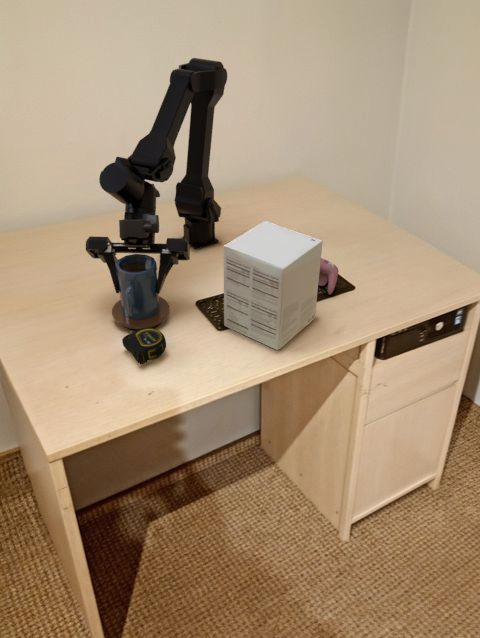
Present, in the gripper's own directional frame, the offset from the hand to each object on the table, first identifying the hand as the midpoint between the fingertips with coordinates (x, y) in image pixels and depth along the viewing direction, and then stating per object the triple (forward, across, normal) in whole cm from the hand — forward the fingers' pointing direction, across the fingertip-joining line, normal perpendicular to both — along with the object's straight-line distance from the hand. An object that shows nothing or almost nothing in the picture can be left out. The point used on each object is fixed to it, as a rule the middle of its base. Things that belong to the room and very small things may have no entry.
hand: (137, 293), depth 114 cm
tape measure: (+12, +2, -3) cm, 13 cm away
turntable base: (+4, 0, +6) cm, 7 cm away
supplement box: (+4, +25, +5) cm, 26 cm away
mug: (+3, 0, +4) cm, 5 cm away
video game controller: (-6, +35, +15) cm, 38 cm away
